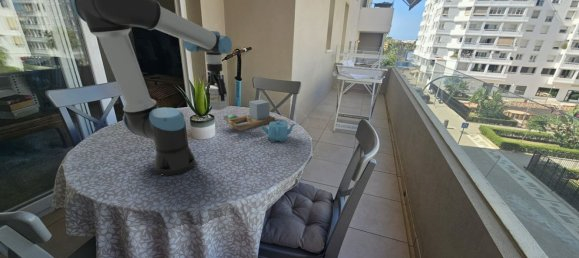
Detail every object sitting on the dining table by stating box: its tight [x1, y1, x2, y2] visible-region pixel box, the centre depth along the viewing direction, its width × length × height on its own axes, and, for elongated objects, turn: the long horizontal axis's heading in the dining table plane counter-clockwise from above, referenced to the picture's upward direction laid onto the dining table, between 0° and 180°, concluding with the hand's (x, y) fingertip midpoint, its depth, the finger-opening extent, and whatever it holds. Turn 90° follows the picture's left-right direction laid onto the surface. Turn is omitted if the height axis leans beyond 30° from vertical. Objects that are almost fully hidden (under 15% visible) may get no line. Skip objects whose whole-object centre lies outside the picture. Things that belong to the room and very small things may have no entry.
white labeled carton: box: [204, 84, 228, 111], centre depth 130 cm, size 9×8×12 cm
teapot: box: [260, 120, 296, 143], centre depth 124 cm, size 18×14×10 cm
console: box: [223, 113, 239, 122], centre depth 148 cm, size 7×7×3 cm
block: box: [248, 99, 270, 121], centre depth 146 cm, size 8×9×12 cm
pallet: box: [226, 114, 276, 132], centre depth 144 cm, size 14×25×4 cm, turn 132°
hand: (217, 104), depth 132 cm, fingers closed on white labeled carton, 11 cm apart
